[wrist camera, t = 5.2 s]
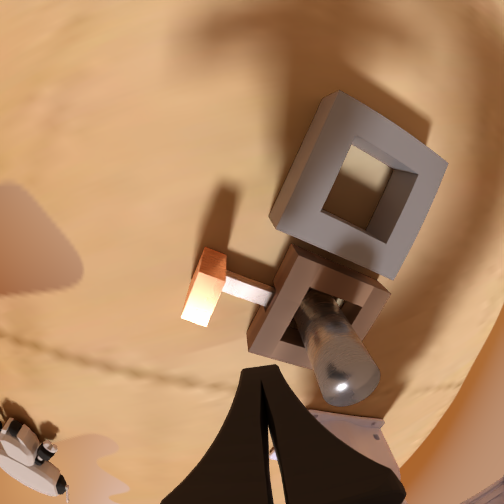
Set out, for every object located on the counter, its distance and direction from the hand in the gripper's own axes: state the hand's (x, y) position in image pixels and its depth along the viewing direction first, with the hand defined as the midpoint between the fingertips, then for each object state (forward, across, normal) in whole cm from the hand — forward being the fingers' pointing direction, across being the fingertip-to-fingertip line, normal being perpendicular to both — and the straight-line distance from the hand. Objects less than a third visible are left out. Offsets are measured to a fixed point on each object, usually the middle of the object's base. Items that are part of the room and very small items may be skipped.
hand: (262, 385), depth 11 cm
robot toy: (+10, +31, +20) cm, 38 cm away
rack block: (+9, -7, -6) cm, 13 cm away
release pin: (+9, 0, 0) cm, 9 cm away
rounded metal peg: (+9, -4, +2) cm, 10 cm away
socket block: (+9, -4, +2) cm, 10 cm away
